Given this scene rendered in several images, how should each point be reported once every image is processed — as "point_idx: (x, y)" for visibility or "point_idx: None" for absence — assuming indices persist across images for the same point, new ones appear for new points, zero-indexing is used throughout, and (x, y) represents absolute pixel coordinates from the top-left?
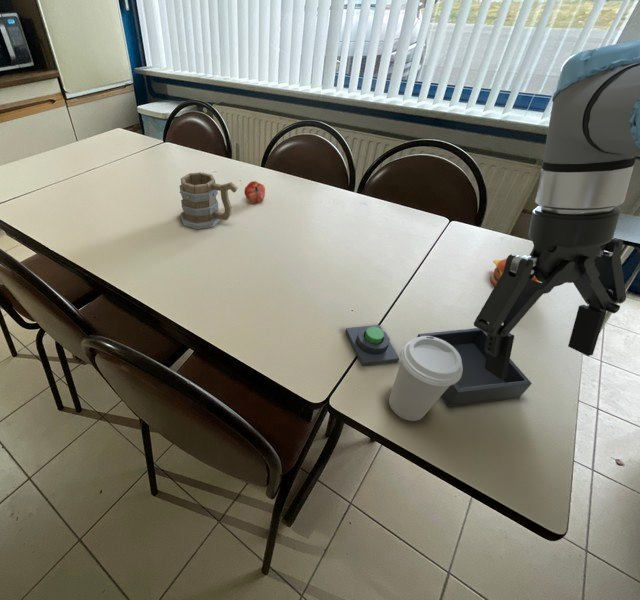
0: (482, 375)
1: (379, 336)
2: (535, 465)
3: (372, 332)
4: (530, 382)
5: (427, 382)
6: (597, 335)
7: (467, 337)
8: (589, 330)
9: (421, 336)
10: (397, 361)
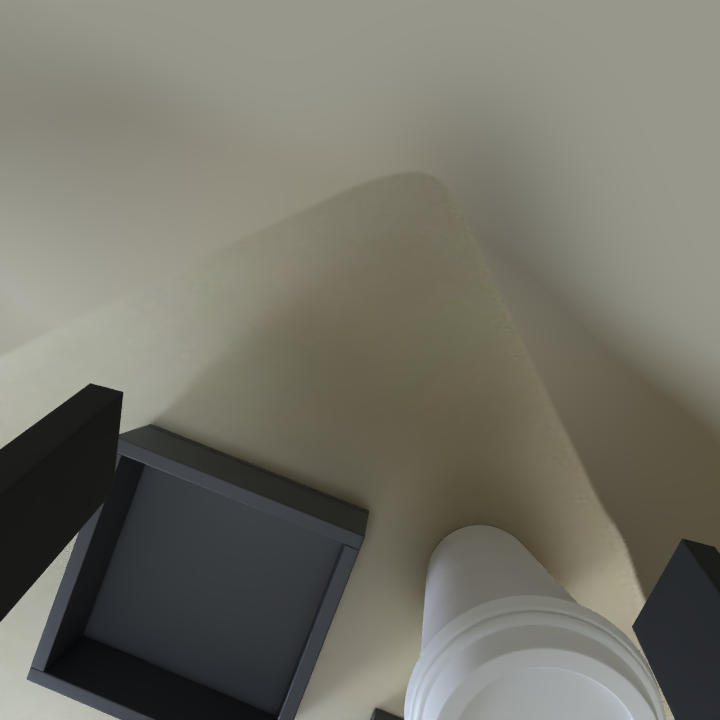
0: (180, 532)
1: None
2: (315, 275)
3: None
4: None
5: (643, 657)
6: (2, 458)
7: (100, 668)
8: (13, 519)
9: None
10: (378, 712)
